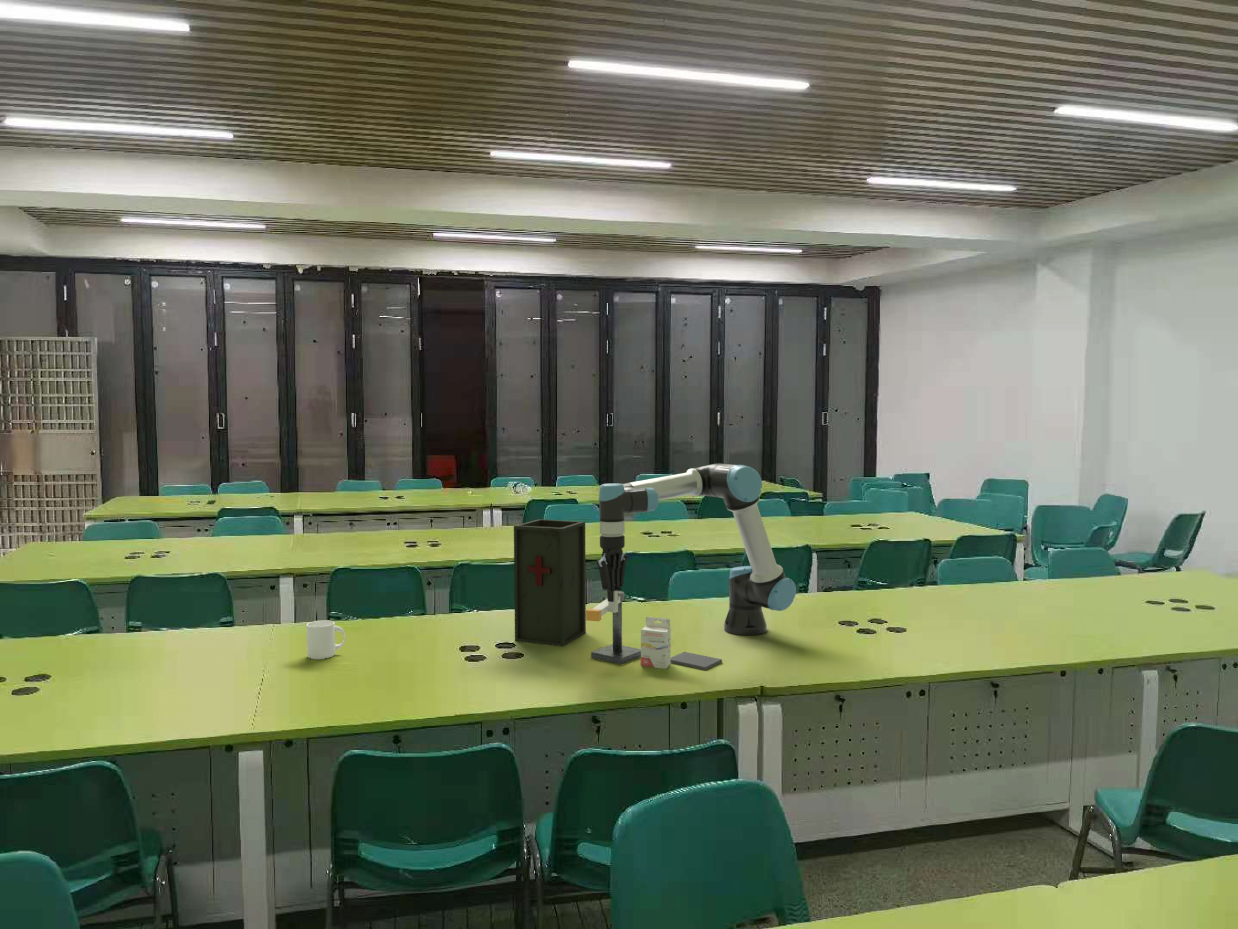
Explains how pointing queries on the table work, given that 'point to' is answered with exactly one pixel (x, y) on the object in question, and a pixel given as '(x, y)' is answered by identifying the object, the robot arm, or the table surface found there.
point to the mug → (322, 639)
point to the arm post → (617, 645)
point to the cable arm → (601, 609)
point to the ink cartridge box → (656, 643)
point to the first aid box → (549, 582)
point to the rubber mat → (695, 660)
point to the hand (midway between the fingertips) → (613, 611)
